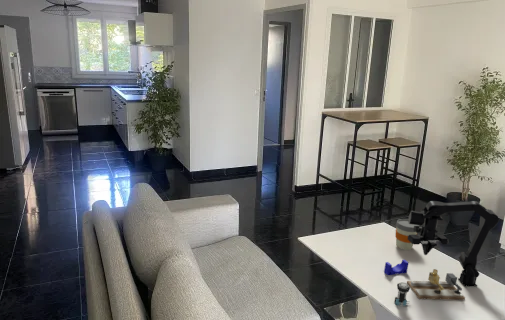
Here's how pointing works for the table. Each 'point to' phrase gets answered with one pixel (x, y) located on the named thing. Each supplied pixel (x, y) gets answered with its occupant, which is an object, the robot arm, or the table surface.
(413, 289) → the board
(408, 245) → the reusable coffee cup
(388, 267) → the cable clip
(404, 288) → the push button
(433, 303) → the table surface
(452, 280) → the fixed leg
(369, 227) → the table surface
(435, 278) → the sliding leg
